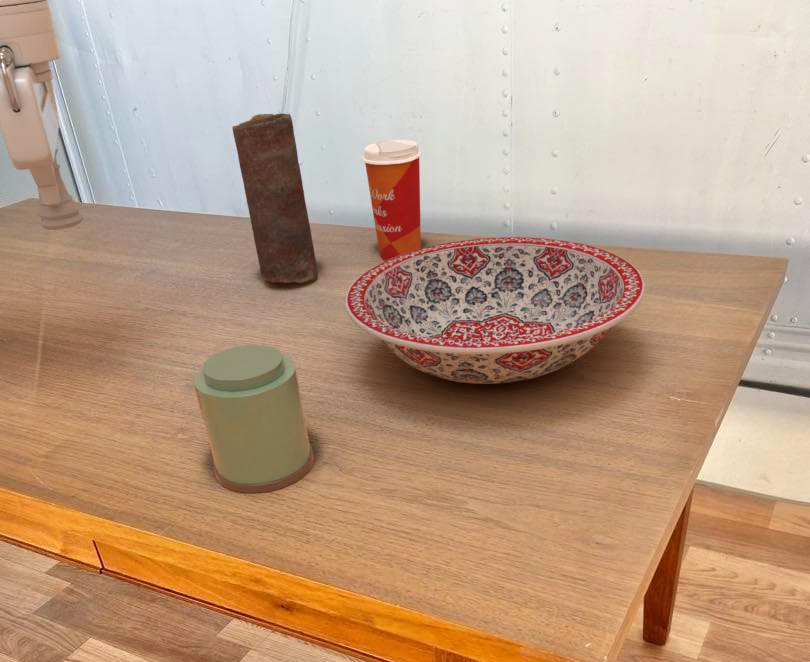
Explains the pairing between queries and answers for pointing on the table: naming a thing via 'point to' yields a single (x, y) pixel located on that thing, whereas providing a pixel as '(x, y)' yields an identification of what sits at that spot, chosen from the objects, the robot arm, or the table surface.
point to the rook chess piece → (59, 207)
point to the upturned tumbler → (254, 418)
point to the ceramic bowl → (495, 306)
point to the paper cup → (395, 195)
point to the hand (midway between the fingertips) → (53, 197)
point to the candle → (276, 198)
